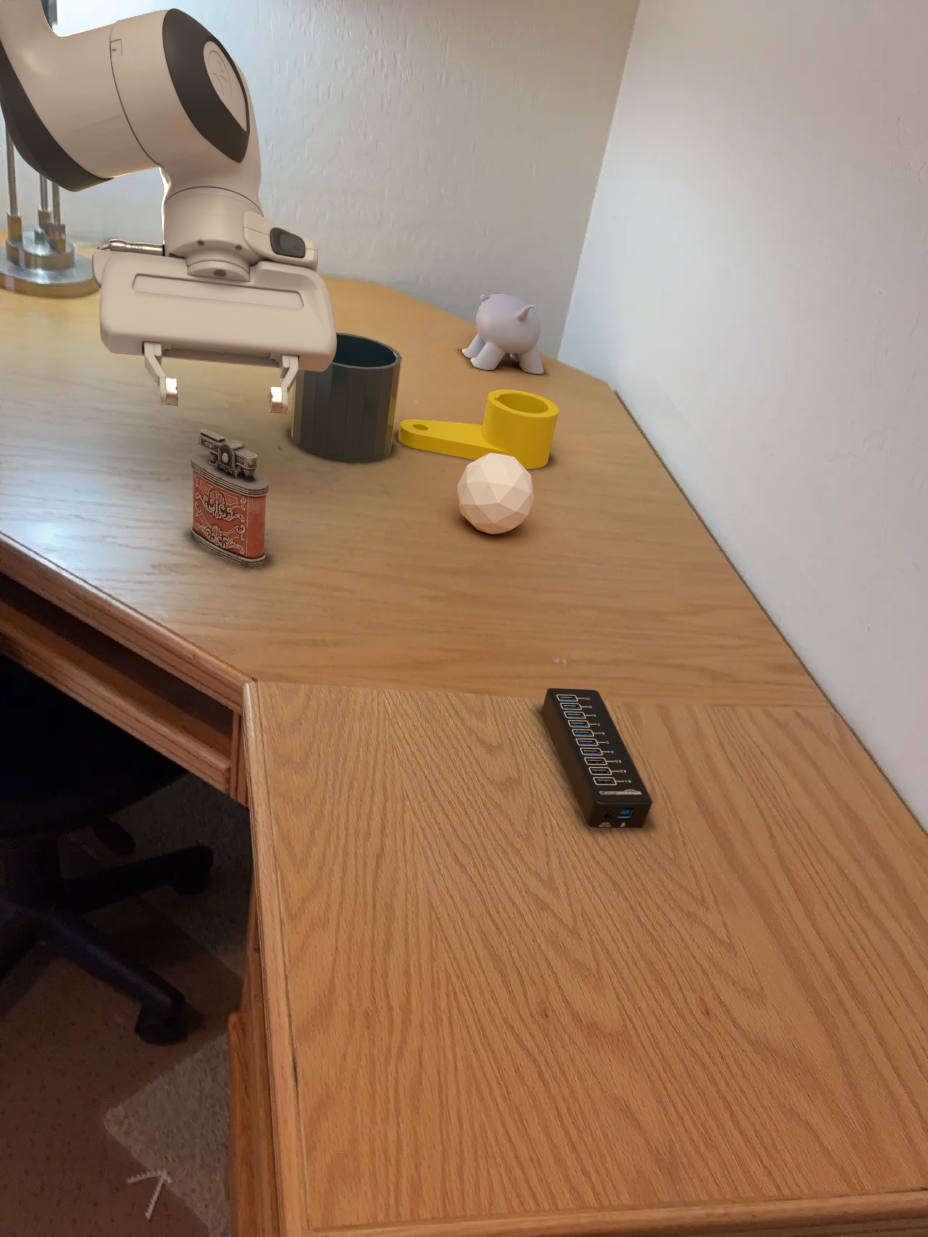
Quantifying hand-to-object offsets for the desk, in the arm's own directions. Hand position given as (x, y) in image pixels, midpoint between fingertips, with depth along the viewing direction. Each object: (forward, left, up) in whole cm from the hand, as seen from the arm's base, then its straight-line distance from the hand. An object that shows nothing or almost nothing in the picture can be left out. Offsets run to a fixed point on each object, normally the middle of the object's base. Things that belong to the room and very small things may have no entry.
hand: (224, 406), depth 93 cm
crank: (+31, +22, -11) cm, 40 cm away
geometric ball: (+27, +1, -11) cm, 29 cm away
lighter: (0, -6, -11) cm, 12 cm away
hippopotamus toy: (+44, +56, -11) cm, 72 cm away
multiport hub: (+24, -39, -11) cm, 47 cm away
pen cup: (+15, +21, -11) cm, 28 cm away
